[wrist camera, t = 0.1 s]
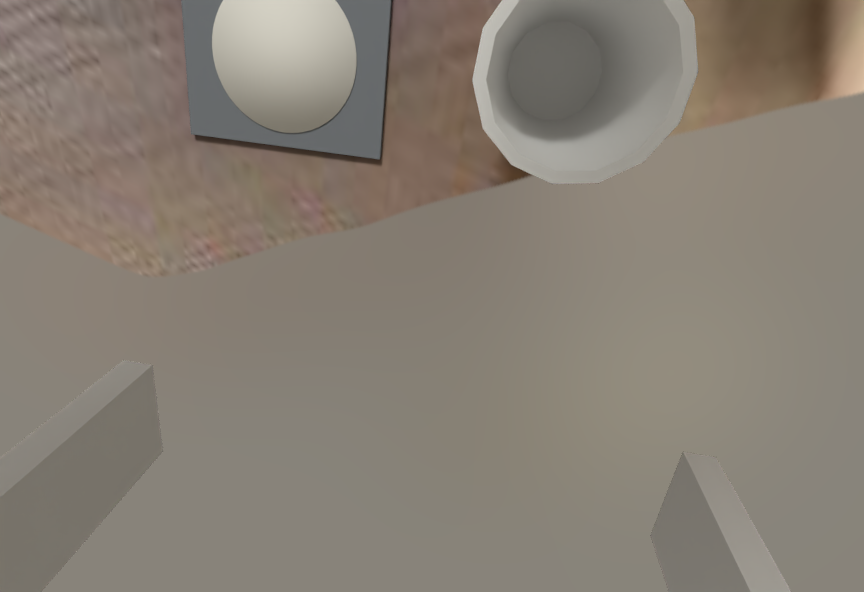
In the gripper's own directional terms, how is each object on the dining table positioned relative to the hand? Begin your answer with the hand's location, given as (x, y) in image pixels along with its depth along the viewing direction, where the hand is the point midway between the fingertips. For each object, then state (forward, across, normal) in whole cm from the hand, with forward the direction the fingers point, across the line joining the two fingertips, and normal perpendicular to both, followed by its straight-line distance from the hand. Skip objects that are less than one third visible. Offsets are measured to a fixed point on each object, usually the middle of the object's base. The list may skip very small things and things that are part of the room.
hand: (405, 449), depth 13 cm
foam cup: (+28, +4, +9) cm, 30 cm away
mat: (+28, -14, +8) cm, 32 cm away
